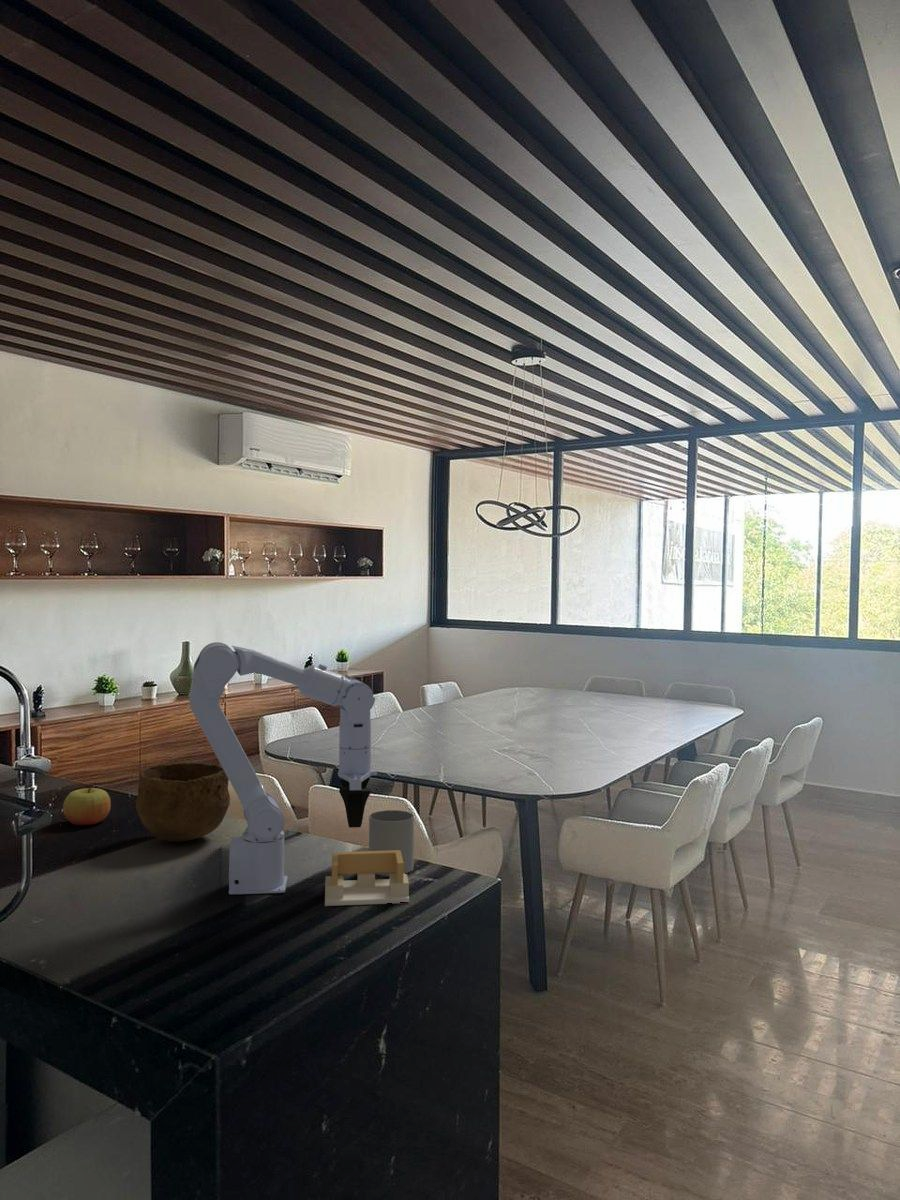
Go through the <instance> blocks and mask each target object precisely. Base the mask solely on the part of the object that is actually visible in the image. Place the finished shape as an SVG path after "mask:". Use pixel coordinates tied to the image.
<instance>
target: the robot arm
mask: <svg viewBox="0 0 900 1200" xmlns="http://www.w3.org/2000/svg"><path fill="white" fill-rule="evenodd" d="M231 647H232V648H233V649H234V650H233V649H232V648H231ZM231 647H230V646H229V645H227V644H226V643H223V642H217V641H215V642H211V643H209V644H208V643H207V645H205V646H204V647H203V648H202V649H201V650H200V652H199V654H198V655H197V658H196V660H195V662H194V663H193V670H192V678H191V683H190V684H191V685H190V691H189V696H188V697H189V699H188V703H189V707H190V709H191V711H192V714H193V715H194V717H195V719H196V720H197V723H198V725H199V726H200V729H201V730H202V732H203V734H204V736H205V737H206V739H207V742H208V743H209V745H210V747H211V749H212V751H213V752H214V755H215V756H216V758H217V760H218V761H219V764H220V766H222V768H223V769H224V771H225V773H226V775H227V777H228V779H229V781H228V782H230V784H231V786H232V788H233V789H234V792H235V793H236V796H237V798H238V800H239V802H240V804H241V806H242V808H243V817H244V819H245V822H246V825H247V827H246V828H245V829H244V832H242V836H237V837H236V836H234V837H231V840H230V843H229V844H230V845H229V854H228V855H229V863H228V864H229V865H228V868H229V869H228V883H229V884H228V895H229V896H230V895H255V894H256V895H258V894H260V895H261V894H282V893H285V892H286V888H287V883H288V878H289V877H288V875H285V831H284V830H283V829H284V827H285V819H286V818H285V815H284V813H283V811H282V809H281V808H280V805H279V803H278V800H277V799H276V798H275V797H274V796H273V795H272V794H270V793H269V792H267V791H266V790H265V788H264V786H263V784H262V782H261V781H260V779H259V777H258V775H257V773H256V771H255V769H254V767H253V766H252V763H251V762H250V760H249V758H248V756H247V754H246V752H245V750H244V749H243V747H242V744H241V743H240V741H239V739H238V737H237V735H236V734H235V732H234V730H233V728H232V726H231V724H230V722H229V720H228V718H227V716H226V715H225V713H224V711H223V709H222V707H221V705H220V700H221V697H222V695H223V693H224V689H225V687H226V686H227V684H228V683H230V681H231V680H232V678H233V677H234V676H235V674H238V675H239V676H241V677H242V676H246V675H250V674H254V673H255V674H260V675H263V676H267V677H268V678H272V679H276V680H279V681H282V682H285V683H287V684H292V685H295V686H297V688H298V690H299V692H300V694H301V696H304V697H307V698H308V699H309V698H310V699H312V700H315V701H319V702H322V703H324V704H326V705H330V706H332V707H336V706H339V708H340V710H339V711H340V717H339V718H340V719H339V729H338V731H339V734H338V735H339V737H338V738H339V739H338V740H339V742H338V743H339V744H338V745H339V746H338V752H339V753H338V761H339V762H338V766H339V767H338V771H337V776H338V777H339V783H340V785H341V786H339V788H338V791H339V795H340V796H341V799H342V801H343V804H344V807H345V812H346V813H345V814H346V819H347V825H348V828H361V827H362V824H363V819H364V813H365V807H366V805H367V802H368V799H369V797H370V795H371V793H372V788H371V787H370V788H367V786H368V785H369V784H368V783H369V781H370V778H371V776H377V775H378V770H377V769H375V768H373V769H371V768H372V766H371V765H372V764H371V763H372V762H371V761H372V760H371V759H372V757H371V756H372V755H371V754H372V753H371V751H372V750H371V749H372V748H371V747H372V734H371V733H372V721H371V710H372V709H373V707H374V706H375V701H376V698H375V697H374V693H373V691H372V688H371V687H370V686H369V685H367V684H366V683H364V682H362V681H360V680H359V679H357V678H352V675H349V674H348V673H346V674H345V675H343V674H339V673H337V672H334V671H331V670H329V669H328V666H326V665H324V664H322V663H320V664H318V666H317V665H315V664H311V665H310V666H308V667H305V668H301V667H299V666H295V665H293V664H290V663H288V662H286V661H283V660H281V659H277V658H276V657H275V658H274V657H273V656H269V655H267V654H264V653H262V652H260V651H256V650H255V649H249V648H245V647H241V646H235V645H231Z"/></svg>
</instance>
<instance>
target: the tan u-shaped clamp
mask: <svg viewBox="0 0 900 1200" xmlns="http://www.w3.org/2000/svg"><path fill="white" fill-rule="evenodd" d="M403 870H404V863H403V859H402V855H401V850H389V851H369V850H363V851H361V850H360V851H359V850H358V851H336V852H335V851H333V852H331V876H332V886H338V876H339V875H344V874H346V875H347V874H348V875H349V874H357V873H380V872H395V873H396V878H397V883H403Z"/></svg>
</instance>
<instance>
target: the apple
mask: <svg viewBox="0 0 900 1200" xmlns="http://www.w3.org/2000/svg"><path fill="white" fill-rule="evenodd" d="M111 802H112V801H111V797H110V795H109V793H108V792H107V791H106V790H104V789H101V788H97V787H88V788H79V789H76V790H75V789H74V790H73V791H71V792H70V793H69V794H68V795H67V796H66V797H65V799H64V801H63V805H62V806H63V807H62V810H63V811H62V812H63V815H64V816H65V818H66V819H67V821H68V822H70V823H71V824H73V825H76V826H91V825H92V826H93V825H96V824H98V823H99V824H100V823H101V822H102V821H103V820H104V819H106V818H107V816H108V815H109V814H110V811H111V806H112V804H111Z"/></svg>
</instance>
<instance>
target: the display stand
mask: <svg viewBox="0 0 900 1200" xmlns="http://www.w3.org/2000/svg"><path fill="white" fill-rule="evenodd" d="M356 874H357V880H356V879H354V880H344V875H338V886H332V875H326V876H325V883H324V885H325V887H324V907H329V906H330V907H333V906H335V907H336V906H358V905H362V906H363V905H386V904H387V903H392V904H401V903H400V902H409V903H410V891H409V890H410V882H409V878H408V873H407V874H403V883H397V878H396V874H390V875H389V876H388V877H389V878H386V879H385V878H383V879H380V878H379V879H376V874H375V873H356ZM387 905H388V904H387Z"/></svg>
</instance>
